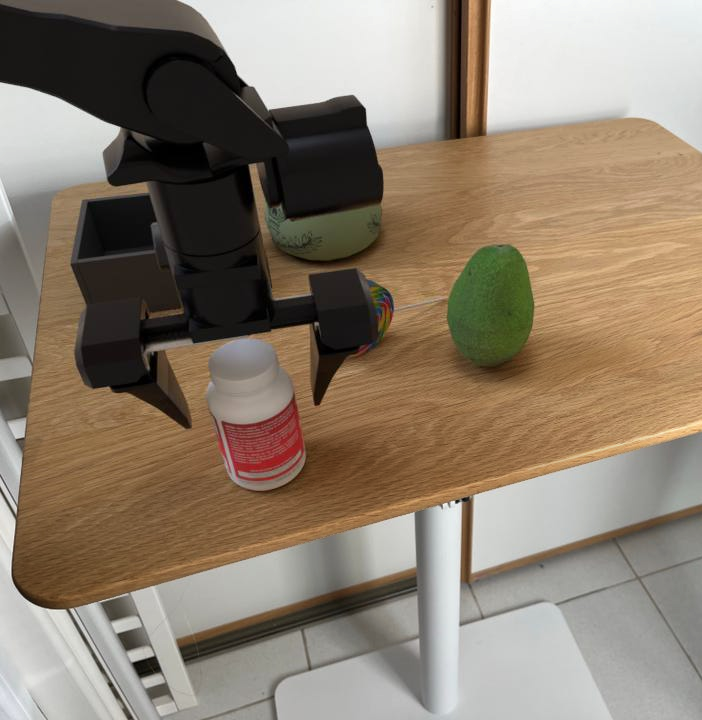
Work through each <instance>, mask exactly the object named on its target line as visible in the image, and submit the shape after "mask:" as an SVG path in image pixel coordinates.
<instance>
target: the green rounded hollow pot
mask: <svg viewBox="0 0 702 720" xmlns="http://www.w3.org/2000/svg"><path fill="white" fill-rule="evenodd" d="M382 217H383V208H382V203H381V204H380V205H378V206H373V207H368V208H362V209H357V210H352V211H347V212H342V213H336V214H331V215H326V216H321V217H315V218H310V219H305V220H300V221H294V222H292V221H290V219H287V220H286V219H285V217H284V214H283V210H282V205H280V206H279V207H278V208H272V209H270V208H269V207H268V205H267V203H266V200H265V199H264V221H265V224H266V226H267V229H268V232H269V234H270V236H271V240H272V242H273V244H274V245H275V246H276V247H278V248H279V249H281V250H282V251H283V252H285V253H286V254H287V255H291V256H293V257H297V258H300V259H304V260H307V261H319V262H321V261H322V262H324V261H325V262H330V261H335V260H340V259H346V258H349V257H351V256H353V255H356V254H358V253H360V252H361V251H363V250H365V249H367V248H368V247H369V246H370V245H371V244H372V243H374V241H375V240H376V239H378V237H379V235H380V231H381V230H380V229H381V224H382Z"/></svg>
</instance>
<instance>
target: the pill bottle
mask: <svg viewBox="0 0 702 720" xmlns="http://www.w3.org/2000/svg"><path fill="white" fill-rule="evenodd" d="M277 353H278V352H277V350H276V349H275V347H274V346H273V345H272V344H270V343H269V342H267V341H266V340H263V339H258V338H249V337H247V338H239V339H234V340H230V341H229V342H226V343H224V344H222V345H221V346H219V347H218V348H216V349H215V350H214V351H213V352H212V353H211V355H210V357H209V359H208V361H207V369H208V372H209V378H210V382H209V383H208V386H207V388H206V394H205V401H206V405H207V409H208V412H209V416H210V418H211V419H210V420H211V423H212V425H213V429H214V432H215V435H216V439H217V442H218V446H219V449H220V453H221V456H222V459H223V463H224V466H225V470H226V473H227V474H228V476H229V478H230V479H231V480H232V481H233V482H234V483H235V484H236V485H238V486H239V487H242V488H244V489H246V490H250V491H257V492H263V491H264V492H265V491H270V490H273V489H274V490H275V489H278V488H280V487H282V486H284V485H286V484H288V483H289V482H291V481H292V480H293V479H295V478H296V477H297V476H298V475H299V473H300V472H301V471H302V470H303V467H304V465H305V463H306V457H307V454H306V453H307V452H306V444H305V440H304V434H303V430H302V429H303V428H302V424H301V419H300V412H299V408H298V407H299V406H298V403H297V397H296V392H295V386H294V383H293V379H292V377H291V376H290V374H289V372H288V371H287V370H286V369H285V368H283V367H282V366H281V365H280V361H279V357H278V354H277Z"/></svg>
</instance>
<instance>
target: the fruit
mask: <svg viewBox="0 0 702 720" xmlns="http://www.w3.org/2000/svg"><path fill="white" fill-rule="evenodd" d="M446 310H447V312H446V322H447V326H448V329H449V333H450V337H451V339H452V341H453V345H454V346H455V347H456V348H457V350H458V351H459V352H460V353H461V355H462V356H463V357H464V358H465V359H466V360H467V361H468V362H470V363H471V364H473V365H475V366H478V367H487V368H488V367H489V368H490V367H497V366H499V365H501V364H504V363H507V362H508V361H511V360H513V359H514V358H515V357H516V356H517V355H518V354H519V353H520V352H521V351H522V350H523V349H524V348H525V346H526V344H527V342H528V340H529V338H530V335H531V332H532V330H533V326H534V318H535V317H534V315H535V299H534V294H533V289H532V284H531V278H530V274H529V269H528V265H527V262H526V260H525V258H524V255H523V254H522V253H521V252H520V250H519V249H518V248H517V247H515V246H513V245H512V244H508V243H505V244H504V243H503V244H502V243H501V244H500V243H498V244H489V245H485V246H483V247H480V248H479V249H478V250H476V251H475V252H474V253H473V254H472V256H471V257H470V258H469V259H468V261H467V263H466V264H465V266H464V267H463V269H462V270H461V273H460V274H459V276H458V278H456V280H455V281H454V283H453V286H452V288H451V291H450V294H449V295H448V301H447V309H446Z"/></svg>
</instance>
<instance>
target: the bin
mask: <svg viewBox="0 0 702 720" xmlns="http://www.w3.org/2000/svg"><path fill="white" fill-rule="evenodd" d="M155 222H157V219H156V216H155V212H154V209H153V205H152V202H151V198H150V195H149V191H147V192H140V193H130V194H122V195H113V196H105V197H95V198H94V197H93V198H86V199H82V200H81V204H80V209H79V214H78V220H77V225H76V230H75V235H74V239H73V240H74V241H73V246H72V250H71V251H72V252H71V256H70V262H69V264H70V267H71V270H72V273H73V275H74V278H75V280H76V283H77V286H78V287H79V290H80V294H81V296H82V298H83V300H84V303H85V307H86V306H87V305H90V304H97V303H105V302H112V301H119V300H127V299H134V298H141V297H142V298H143V299H144V300H145V301H146V304H147V307H148V310H149V313H153V312H161V311H168V310H174V309H175V310H176V309H182V307H181V303H180V300H179V296H178V293H177V289H176V286H175V282H174V279H173V275H172V272H171V270H170V271H163V272H162V271H161V270H160V269H159V267H158V263H157V258H156V254H155V250H154V244H153V237H152V231H151V225H152V223H155Z"/></svg>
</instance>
